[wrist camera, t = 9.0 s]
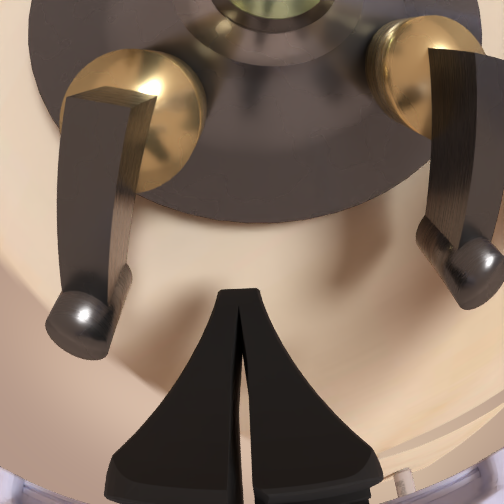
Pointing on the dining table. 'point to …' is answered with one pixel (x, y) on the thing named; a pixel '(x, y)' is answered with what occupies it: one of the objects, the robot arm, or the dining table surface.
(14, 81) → the dining table surface
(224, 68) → the levelling plate
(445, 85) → the knob
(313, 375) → the dining table surface
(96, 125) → the knob
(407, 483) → the energy drink can
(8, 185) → the dining table surface
